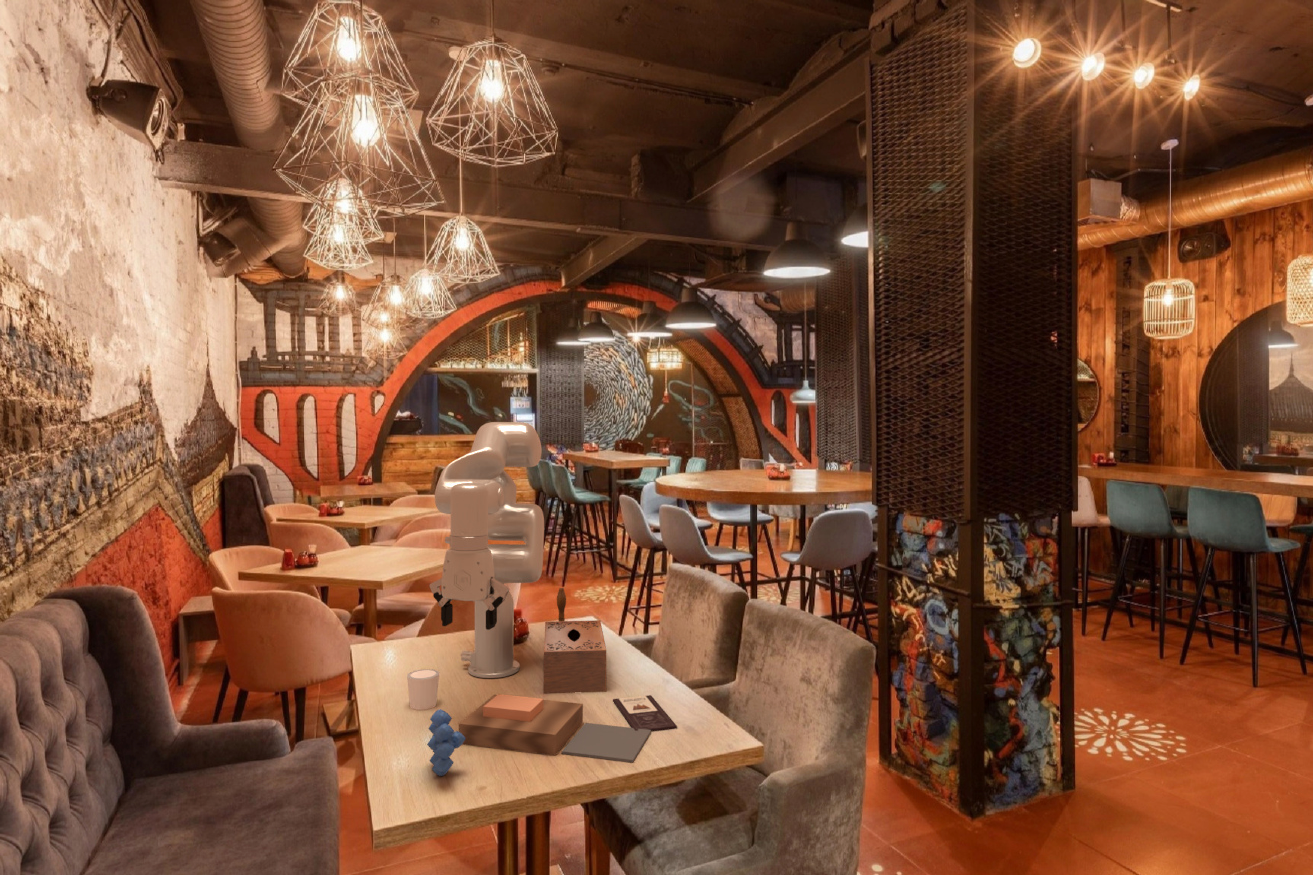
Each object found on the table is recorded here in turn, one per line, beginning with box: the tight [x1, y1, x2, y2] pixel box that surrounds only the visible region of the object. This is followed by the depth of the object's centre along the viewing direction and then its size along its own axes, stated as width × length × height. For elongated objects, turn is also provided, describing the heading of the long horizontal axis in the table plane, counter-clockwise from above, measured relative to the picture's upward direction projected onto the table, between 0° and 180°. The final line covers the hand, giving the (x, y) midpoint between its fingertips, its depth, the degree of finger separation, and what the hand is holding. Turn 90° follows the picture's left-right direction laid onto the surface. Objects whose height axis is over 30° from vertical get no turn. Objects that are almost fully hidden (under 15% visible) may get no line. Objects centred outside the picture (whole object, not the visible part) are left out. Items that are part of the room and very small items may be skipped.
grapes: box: [427, 709, 466, 777], centre depth 138 cm, size 12×7×12 cm, turn 24°
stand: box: [458, 694, 584, 756], centre depth 156 cm, size 20×16×4 cm
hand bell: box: [556, 587, 567, 621], centre depth 214 cm, size 8×8×16 cm
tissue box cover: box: [542, 619, 607, 695], centre depth 191 cm, size 26×14×10 cm, turn 7°
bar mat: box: [561, 722, 652, 764], centre depth 152 cm, size 14×14×1 cm
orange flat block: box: [483, 693, 544, 722], centre depth 156 cm, size 10×7×2 cm
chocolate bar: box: [612, 694, 678, 733], centre depth 166 cm, size 9×1×18 cm
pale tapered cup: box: [406, 668, 440, 711], centre depth 170 cm, size 7×7×7 cm
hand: (468, 626), depth 159 cm, fingers open, 9 cm apart
